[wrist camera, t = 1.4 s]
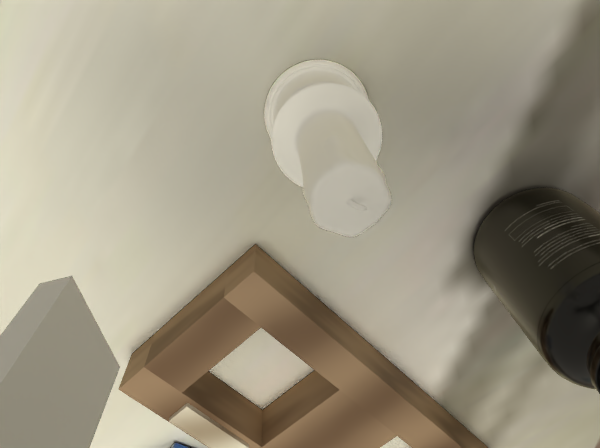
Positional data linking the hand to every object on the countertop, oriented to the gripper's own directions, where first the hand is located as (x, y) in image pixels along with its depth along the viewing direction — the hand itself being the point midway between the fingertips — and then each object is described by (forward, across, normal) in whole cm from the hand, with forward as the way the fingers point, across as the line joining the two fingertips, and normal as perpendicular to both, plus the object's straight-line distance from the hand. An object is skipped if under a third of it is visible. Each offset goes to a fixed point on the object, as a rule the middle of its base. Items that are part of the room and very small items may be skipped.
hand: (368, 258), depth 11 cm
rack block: (+15, +4, +20) cm, 25 cm away
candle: (+16, 0, 0) cm, 16 cm away
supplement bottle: (+15, -11, +11) cm, 21 cm away
